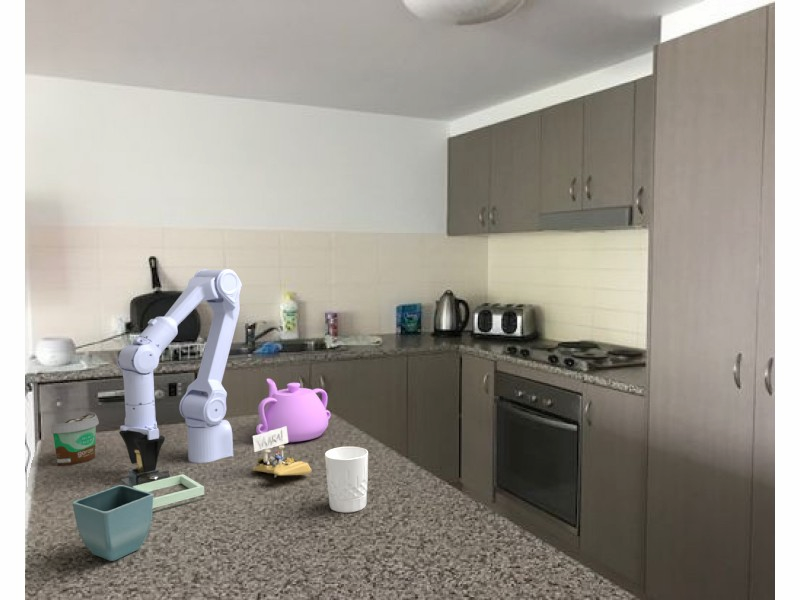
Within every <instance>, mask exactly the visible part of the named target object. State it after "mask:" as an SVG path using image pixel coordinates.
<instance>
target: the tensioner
mask: <svg viewBox="0 0 800 600" xmlns="http://www.w3.org/2000/svg"><path fill="white" fill-rule="evenodd" d="M127 471H128V477H125V478H121V479H120V480H121V481H122V482H123V483H125V484H126V486H128V487H131V488H133V486H136V485H140V484H144V483H149V482H153V481H157V480H161V479H165V478H169V477H171V475H170V473H169V472H170V471H169V470H164V471H163V470H162V471H161V470H159V469H158V468H156V469H155V470H154V471H150V472H144V473H140V474H137V467H135V468H132V469H127Z"/></svg>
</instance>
